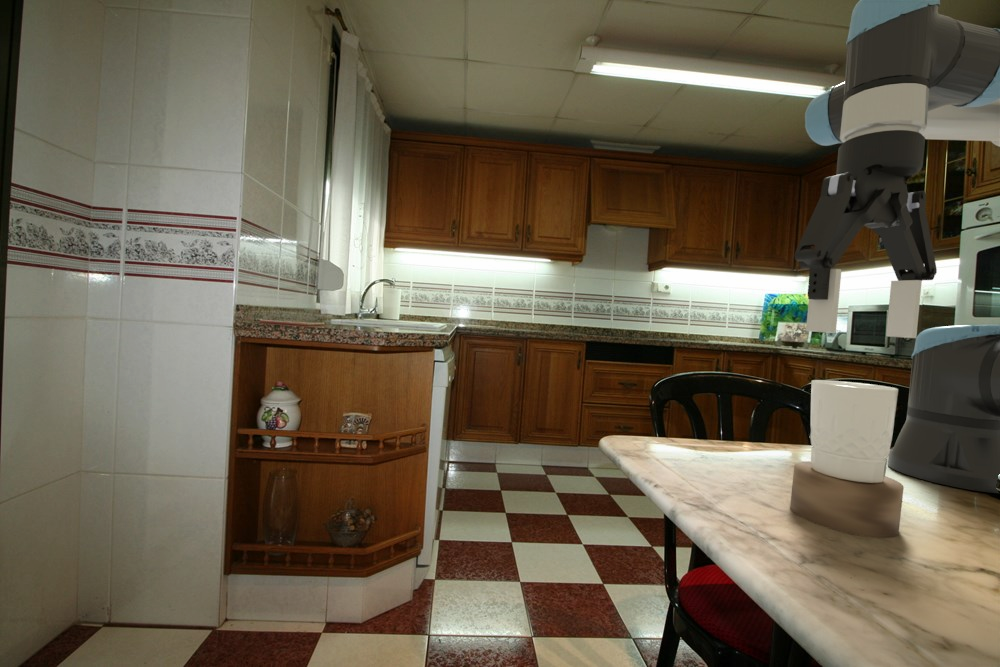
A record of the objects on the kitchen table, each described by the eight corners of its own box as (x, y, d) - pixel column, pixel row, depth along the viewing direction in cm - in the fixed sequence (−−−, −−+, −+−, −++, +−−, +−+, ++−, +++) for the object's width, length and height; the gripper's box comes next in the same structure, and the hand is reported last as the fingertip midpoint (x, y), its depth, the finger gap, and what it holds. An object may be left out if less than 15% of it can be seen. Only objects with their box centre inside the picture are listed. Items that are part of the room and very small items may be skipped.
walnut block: (851, 504, 61) (855, 464, 61) (924, 541, 51) (929, 493, 51) (771, 500, 61) (775, 459, 61) (830, 536, 51) (835, 487, 51)
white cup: (862, 467, 60) (868, 383, 59) (909, 488, 52) (917, 391, 52) (792, 461, 60) (798, 378, 60) (828, 481, 52) (835, 385, 52)
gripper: (911, 167, 63) (895, 337, 64) (767, 127, 53) (750, 327, 54) (988, 150, 56) (969, 341, 57) (838, 101, 46) (818, 331, 47)
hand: (862, 335), depth 55 cm, fingers open, 13 cm apart
